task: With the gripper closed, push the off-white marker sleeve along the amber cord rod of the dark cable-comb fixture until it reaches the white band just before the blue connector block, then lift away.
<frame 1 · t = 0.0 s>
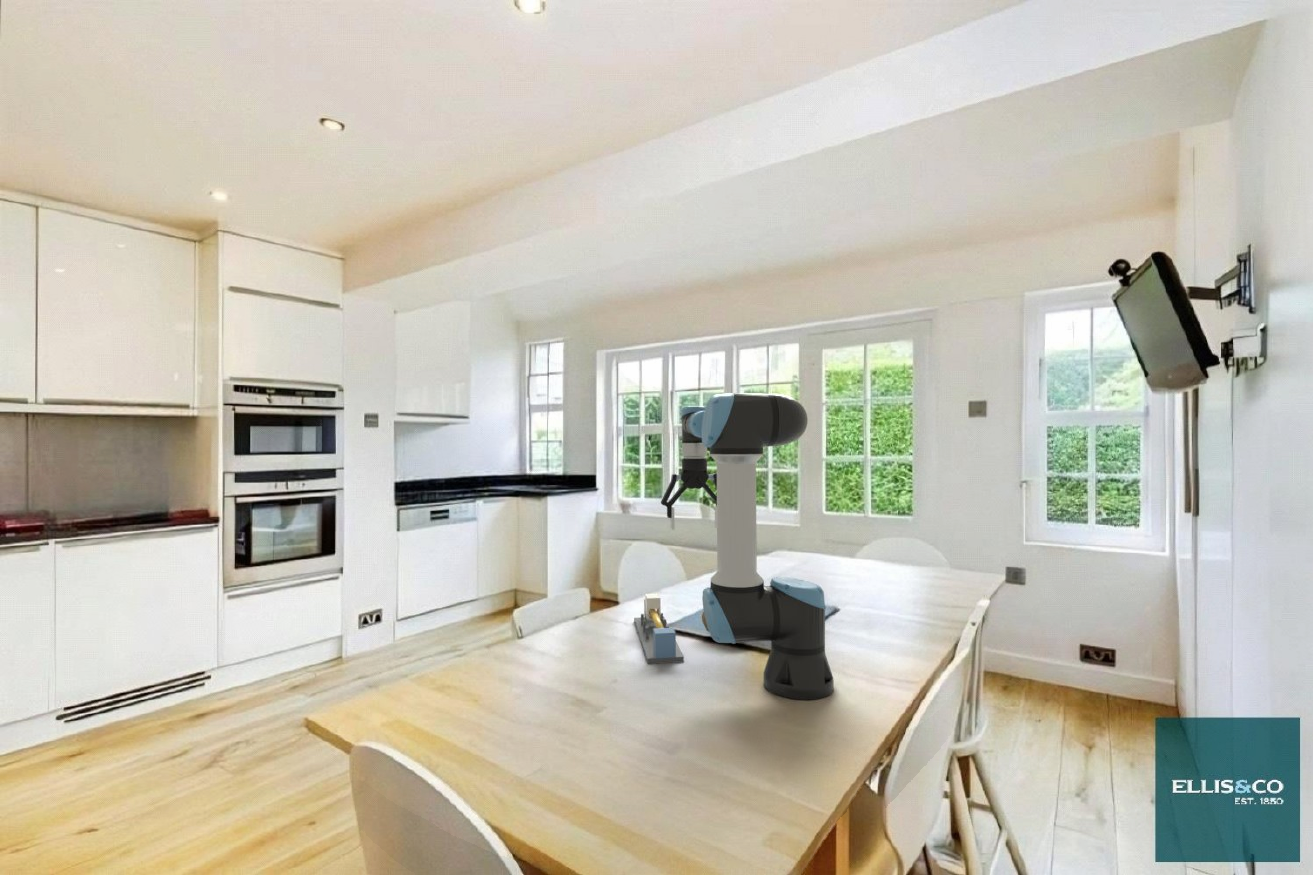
hand: (694, 528, 180), 28 cm above the table, fingers open, 13 cm apart
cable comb: (656, 639, 164), on the table
sleeve: (652, 606, 172), point 7 cm above the table, slide at 0.0 cm
potato: (726, 639, 165), on the table
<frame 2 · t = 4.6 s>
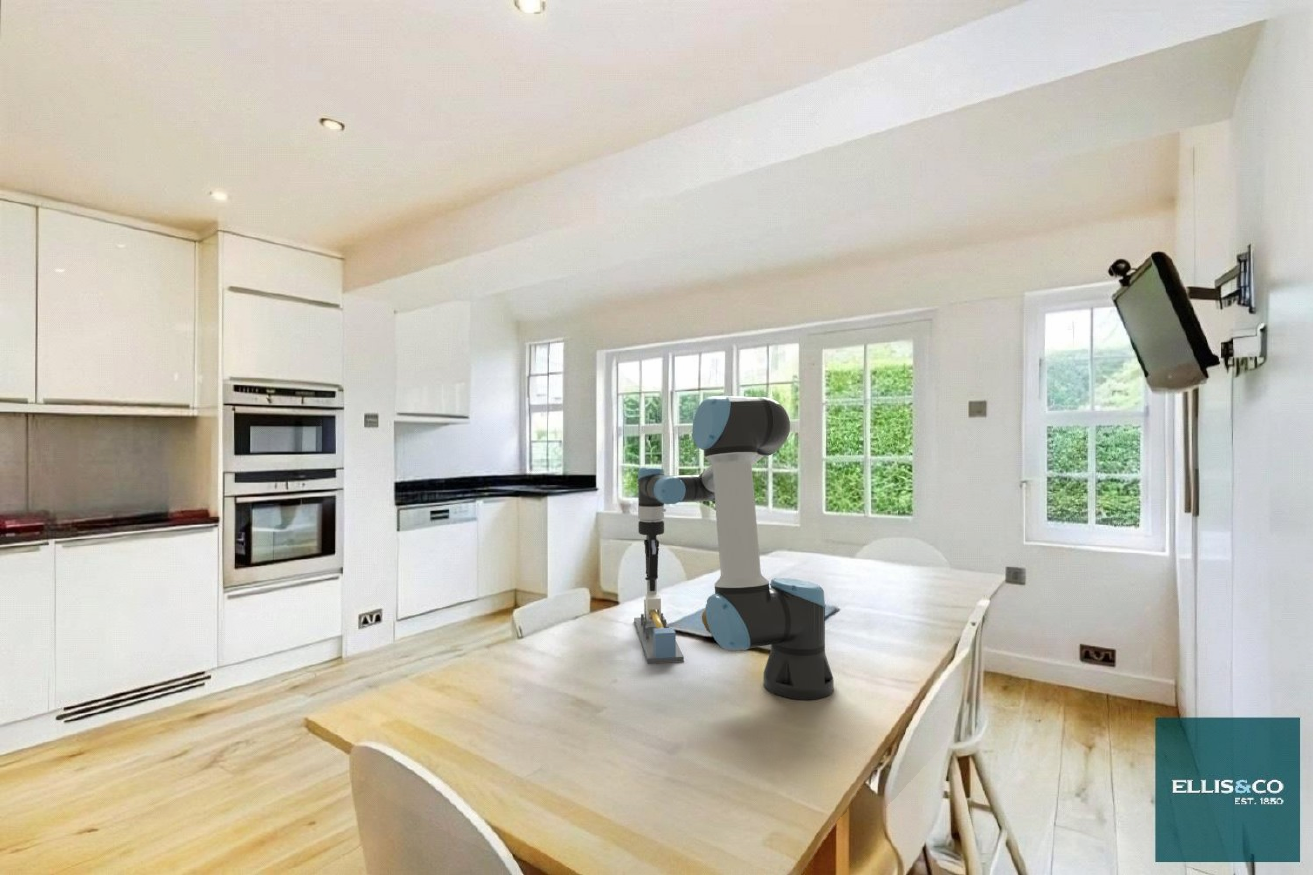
hand: (651, 601, 175), 8 cm above the table, fingers closed
sleeve: (653, 607, 172), point 7 cm above the table, slide at 0.8 cm, touching gripper
everything else where it was.
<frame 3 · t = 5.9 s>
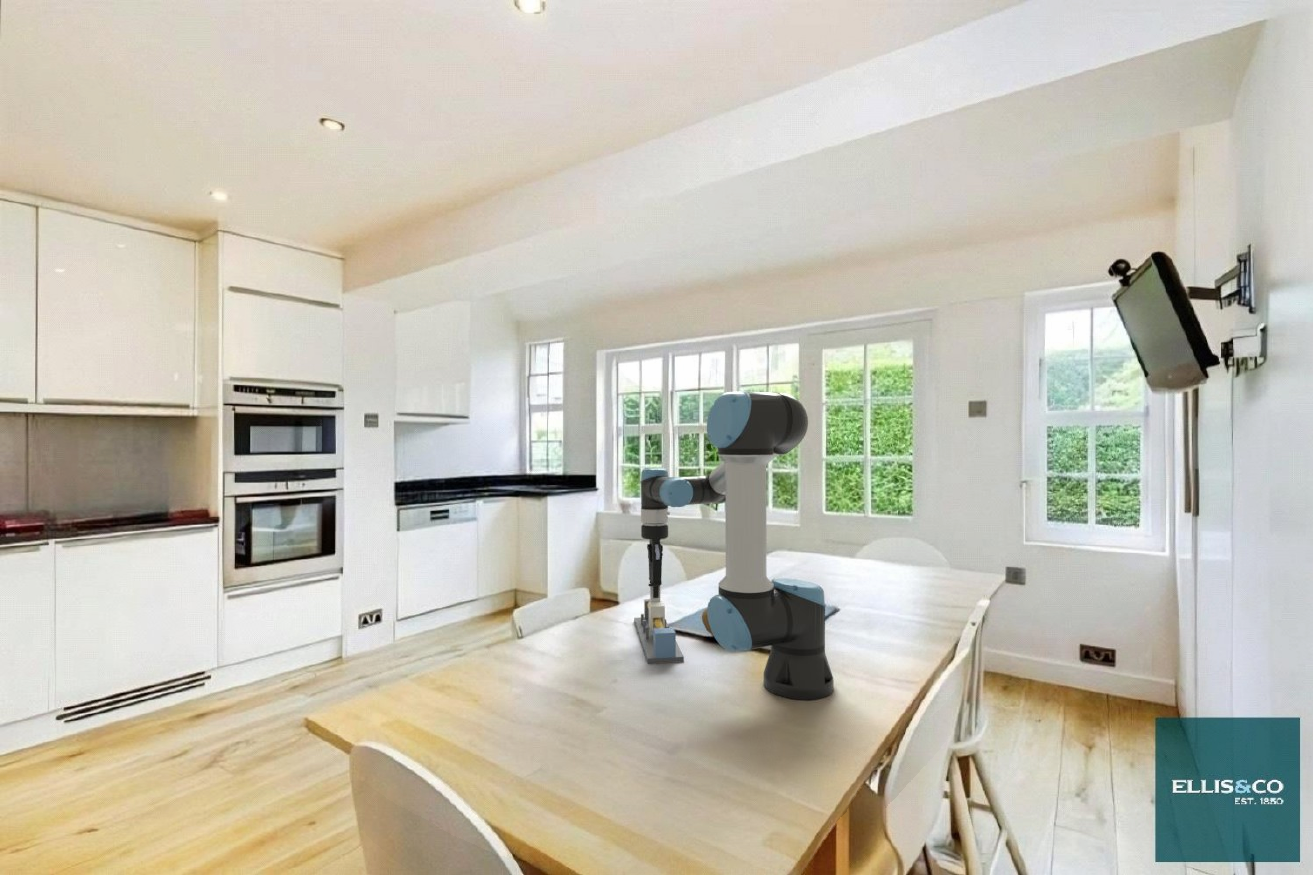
hand: (655, 608, 167), 8 cm above the table, fingers closed
sleeve: (656, 615, 164), point 7 cm above the table, slide at 8.4 cm, touching gripper
everything else where it was.
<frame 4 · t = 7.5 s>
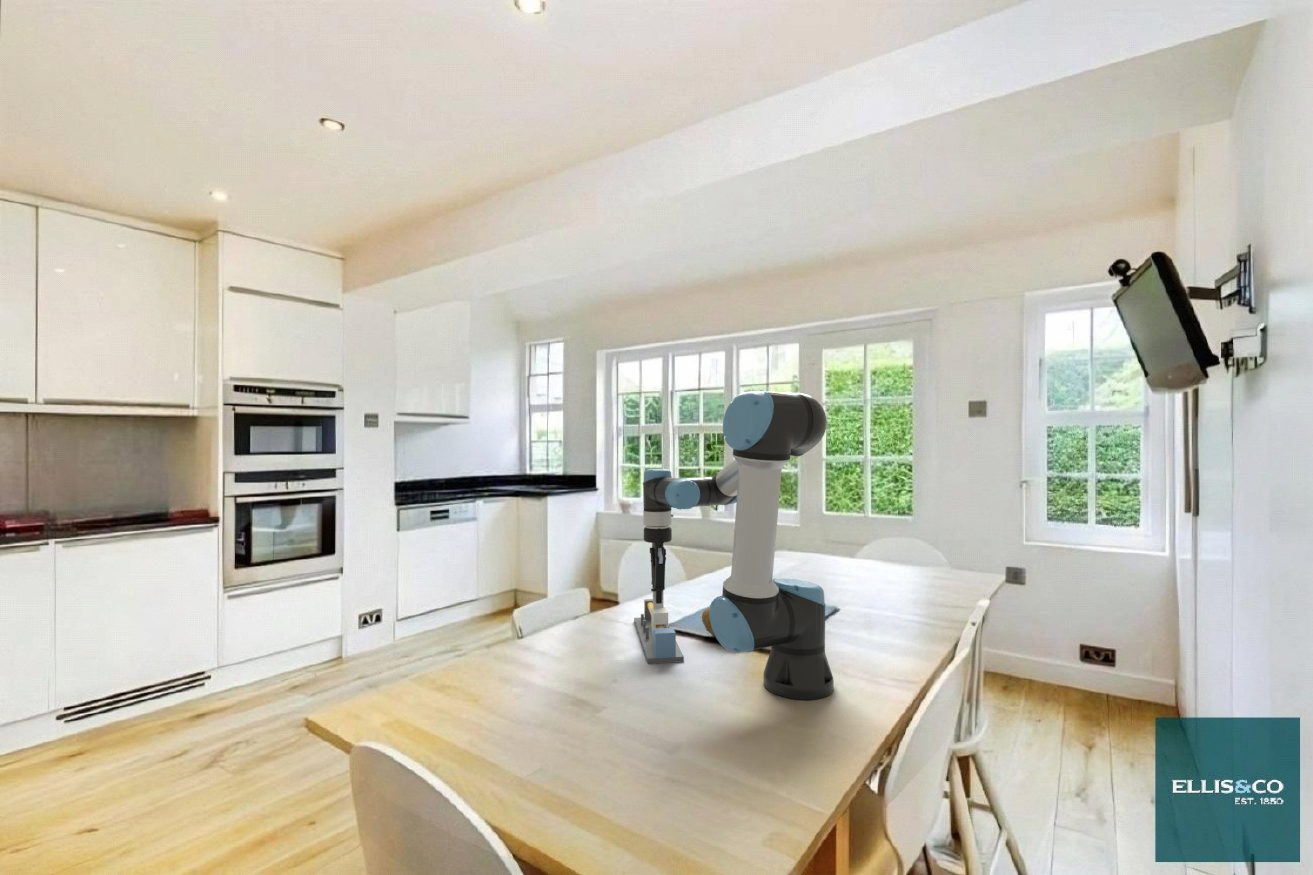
hand: (658, 614, 161), 8 cm above the table, fingers closed
sleeve: (659, 622, 158), point 7 cm above the table, slide at 14.5 cm, touching gripper
everything else where it was.
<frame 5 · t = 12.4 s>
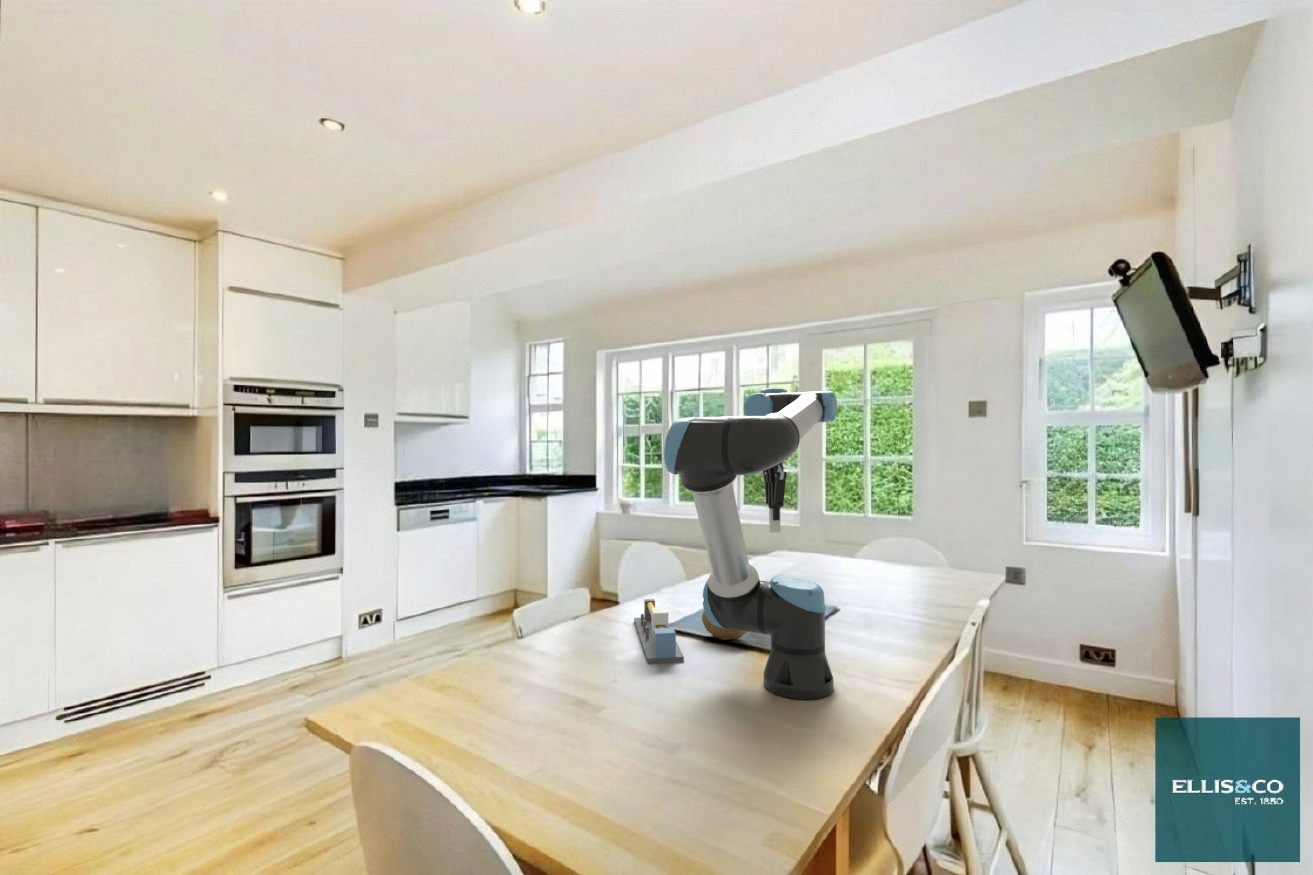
hand: (774, 531, 164), 29 cm above the table, fingers closed
sleeve: (659, 622, 158), point 7 cm above the table, slide at 14.7 cm
everything else where it was.
at the end: sleeve slide at 14.7 cm; sleeve touching nothing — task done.
